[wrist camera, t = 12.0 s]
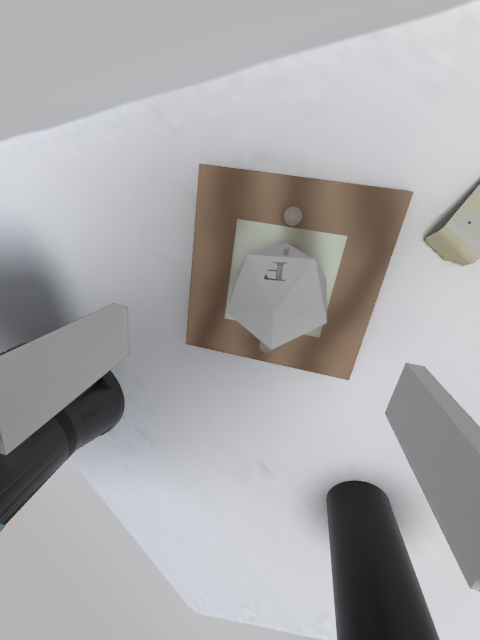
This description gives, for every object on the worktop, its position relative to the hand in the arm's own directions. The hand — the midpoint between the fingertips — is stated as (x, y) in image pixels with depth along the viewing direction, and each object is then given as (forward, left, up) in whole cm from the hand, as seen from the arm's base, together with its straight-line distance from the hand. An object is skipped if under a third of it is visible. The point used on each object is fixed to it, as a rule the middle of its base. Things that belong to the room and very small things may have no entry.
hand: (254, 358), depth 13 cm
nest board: (0, 0, -19) cm, 19 cm away
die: (0, 0, -18) cm, 18 cm away
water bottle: (+17, -30, -19) cm, 39 cm away
